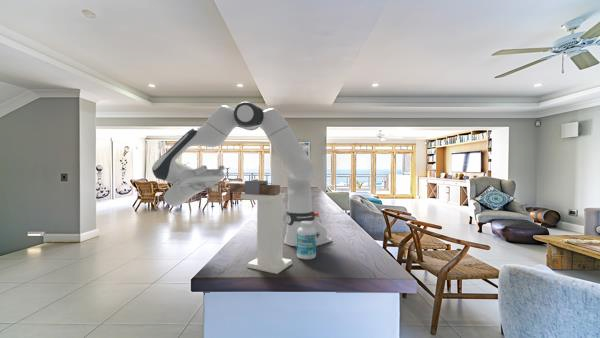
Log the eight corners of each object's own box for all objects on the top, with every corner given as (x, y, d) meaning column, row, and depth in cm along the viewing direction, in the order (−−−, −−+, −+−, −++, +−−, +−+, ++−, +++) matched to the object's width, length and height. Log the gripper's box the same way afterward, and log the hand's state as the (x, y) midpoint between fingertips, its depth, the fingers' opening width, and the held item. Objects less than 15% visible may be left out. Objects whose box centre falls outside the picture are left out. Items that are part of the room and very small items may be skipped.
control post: (240, 265, 95) (240, 181, 94) (257, 257, 104) (257, 179, 103) (277, 273, 88) (277, 182, 88) (291, 263, 97) (292, 181, 97)
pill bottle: (295, 259, 101) (295, 223, 101) (298, 253, 109) (298, 219, 109) (315, 260, 100) (315, 224, 100) (316, 254, 108) (317, 220, 108)
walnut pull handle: (229, 191, 101) (229, 183, 101) (235, 190, 104) (235, 183, 104) (275, 194, 92) (275, 185, 92) (279, 193, 95) (279, 185, 95)
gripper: (168, 177, 104) (190, 159, 98) (208, 175, 122) (229, 160, 116) (173, 192, 102) (196, 174, 97) (213, 188, 121) (234, 173, 115)
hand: (214, 167), depth 107 cm, fingers open, 8 cm apart
